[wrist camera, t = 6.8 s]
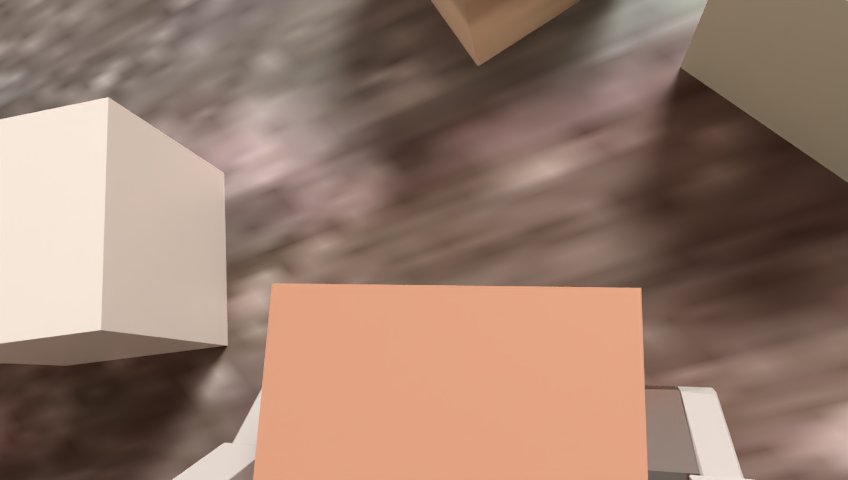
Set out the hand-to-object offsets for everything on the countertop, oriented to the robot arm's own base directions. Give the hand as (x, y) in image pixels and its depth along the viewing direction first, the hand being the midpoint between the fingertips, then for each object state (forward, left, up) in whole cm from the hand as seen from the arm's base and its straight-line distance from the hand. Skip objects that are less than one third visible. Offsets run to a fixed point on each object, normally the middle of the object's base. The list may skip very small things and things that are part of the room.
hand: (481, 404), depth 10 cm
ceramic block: (+8, -7, -5) cm, 12 cm away
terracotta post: (0, +1, -5) cm, 5 cm away
